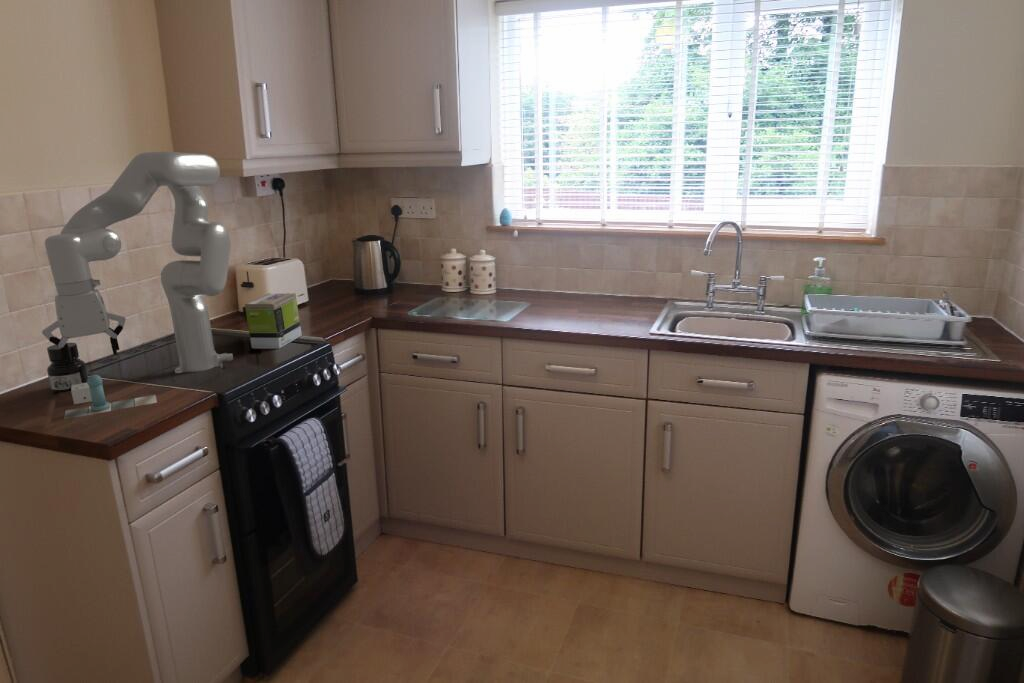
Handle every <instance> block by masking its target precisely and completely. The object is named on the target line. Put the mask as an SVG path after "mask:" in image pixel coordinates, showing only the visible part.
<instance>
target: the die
mask: <svg viewBox="0 0 1024 683" xmlns="http://www.w3.org/2000/svg"><path fill="white" fill-rule="evenodd" d="M70 392H71V396H72V400H73V404H74V405H79V404H84V403H89V402H92V398H91V393H90V389H89V385H88V384H87V383H81V384H75V385H71V391H70Z"/></svg>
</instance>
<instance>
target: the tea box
mask: <svg viewBox="0 0 1024 683" xmlns="http://www.w3.org/2000/svg"><path fill="white" fill-rule="evenodd" d="M244 307H245V309H244V310H245V314H246V322H247V326H248V333H249V338H250V344H251V348H252V349H260V350H261V349H264V350H265V349H267V350H272V349H273V350H275V349H276V350H277V349H281V348H283V347H285V346H287V345H288V344H289V343H292V342H293V341H295V340H297V339H298V338H300V337H302V335H303V334H302V326H301V321H300V313H299V306H298V300H297V295H296V293H295V292H294V293H289V292H288V293H285V292H284V293H267V294H265V295H263V296H260V297H257V298H256V299H253V300H252V301H248V302H247V303H245V304H244Z"/></svg>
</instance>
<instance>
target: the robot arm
mask: <svg viewBox="0 0 1024 683" xmlns="http://www.w3.org/2000/svg"><path fill="white" fill-rule="evenodd" d="M220 175H221V168H220V165H219V162H218V161H217V160H216V159H215V157H214V156H211V155H210V154H207V153H197V152H177V151H148V152H147V151H146V152H141V153H139V154H137V155H135V157H133V158H132V159H131V161H130V162H129V163H128V165H127V166H126V167H125V169H124V170H123V171H122V173H121V174H119V176H118V178H117V179H116V181H115V182H114V183H113V184H112V185H111V187H110V188H109V189H108V190H107V191H106V192H104V193H102V194H101V195H99V196H98V197H96V198H94V199H93V200H92V201H90V202H89V203H87V204H85V205H84V206H82V207H80V209H79V210H77V211H76V212H75V213H74V214H73V215H72V216H71V218H70V219H69V220H68V221H67V222H66V224H65V225H64V227H63V228H62V230H61V231H60V233H59V234H55V235H51V236H48V237H47V238H46V239H45V240H44V247H45V251H46V254H47V259H48V263H49V266H50V272H51V274H52V277H53V281H54V282H53V283H54V286H55V289H56V293H57V294H56V295H55V296H54V305H55V312H56V318H57V320H56V321H54V322H53V323H51V324H50V325H48V326H47V327H45V328H44V329H42V331H41V334H42V335H43V336H44V337H45V338H46V339H47V340H48V341H49V342H50V343H51V344H52V345H57V346H59V347H60V348H61V351H62V355H63V359H64V360H65V359H67V362H68V363H71V361H72V358H71V354H70V350H69V346H68V345H67V344H66V343H68V341H69V339H74V338H80V337H86V336H92V335H99V334H102V333H103V334H104V333H105V334H106V335H107V336H109V340H110V346H111V349H112V354H113V355H114V356H116V355H118V351H120V345H119V342H118V336H119V335H120V333H121V332H122V331H123V330H124V326H125V323H126V320H127V319H126V317H125V316H123V315H118V314H114V313H111V312H108V311H107V308H106V305H105V302H104V298H103V297H102V294H101V292H100V290H99V289H96V287H98V286H101V280H100V279H94V278H93V277H92V273H91V268H90V265H89V263H90V262H98V261H106V260H111V259H112V258H114V257H116V256H117V255H118V254H119V252H120V251H121V249H122V240H121V238H120V236H119V235H118V234H117V232H115V231H114V230H112V229H108V227H109V226H112V225H114V224H117V223H118V222H123V221H125V220H127V219H130V218H133V217H135V216H137V215H138V214H141V212H143V210H144V209H145V208H146V206H147V204H148V203H149V202H150V200H151V199H152V198H153V197H154V194H156V192H157V191H158V189H159V188H160V187H165V186H166V187H167V188H168V189H169V191H170V193H171V195H172V196H173V200H174V213H173V214H174V217H173V223H172V231H171V247H172V249H173V251H174V252H175V253H176V254H178V255H180V256H184V257H200V260H184V259H180V260H174V261H171V262H168V263H167V264H165V266H163V268H162V270H161V273H160V282H161V285H162V288H163V291H164V293H165V296H166V298H167V302H168V306H169V309H170V315H171V321H172V327H173V332H174V338H175V339H174V340H175V344H176V350H177V356H178V362H179V366H178V367H176V368H175V369H174V374H181V373H195V372H196V373H197V372H202V371H207V370H210V369H212V368H216V367H220V368H221V369H223V368H224V367H223V362H226V361H227V362H229V361H233V360H234V356H233V353H227V352H224V353H220V354H219V353H217V352H216V350H215V345H214V339H213V333H212V326H211V320H210V314H209V313H210V312H209V309H208V305H207V303H206V301H205V300H204V297H213V296H214V297H215V296H218V295H220V294H221V293H222V292H223V291H224V289H225V287H226V283H227V279H228V278H227V277H228V270H229V263H230V262H229V261H230V253H231V237H230V233H229V231H228V229H227V228H226V227H225V225H223V224H222V223H219V222H217V221H208V219H209V204H208V203H209V202H208V200H207V198H206V196H205V193H204V192H203V191H202V190H201V188H200V187H210V186H212V185H215V184H216V183H217V182H218V180H219V178H220ZM110 320H111V321H115V322H118V323H117V326H116V327H115V328H112V327H110V326H111V325H110V324H111V323H110ZM57 329H59V331H60V335H61V338H59V337H57V336H55V335H54V334H53V333H52V332H54V331H55V330H57Z"/></svg>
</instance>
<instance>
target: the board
mask: <svg viewBox="0 0 1024 683" xmlns="http://www.w3.org/2000/svg"><path fill="white" fill-rule="evenodd" d="M156 395H157V394H152V395H151V394H150V395H146V396H140V397H135V398H130V399H124V400H119V401H118V400H117V401H113V402H109V405H110V408H108V409H106V410H103V411H98V412H93V411H91V407H90V406H91V405H90V406H84V407H80V408H79V407H78V408H74V409H73V408H72V409H67V410H65V411H64V412H65V413H64V418H63V420H69V419H75V418H79V417H85V416H91V415H96V414H101V413H107V412H112V411H113V412H114V411H118V410H123V409H130V408H134V407H139V406H140V407H141V406H145V405H146V406H147V405H152V404H156V403H157V402H158V401H157V396H156Z"/></svg>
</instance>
